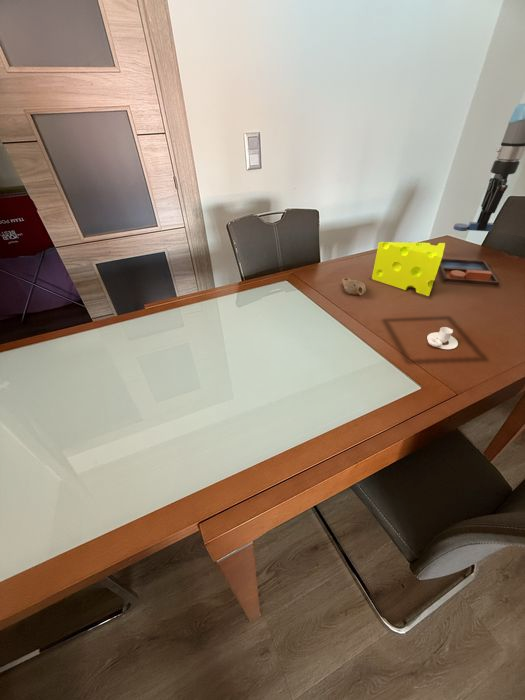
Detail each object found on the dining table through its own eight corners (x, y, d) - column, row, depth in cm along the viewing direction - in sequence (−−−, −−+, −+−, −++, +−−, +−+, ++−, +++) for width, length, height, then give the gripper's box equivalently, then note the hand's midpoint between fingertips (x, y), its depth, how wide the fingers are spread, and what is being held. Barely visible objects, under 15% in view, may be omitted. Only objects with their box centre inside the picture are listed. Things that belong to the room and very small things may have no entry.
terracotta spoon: (486, 275, 115) (489, 269, 113) (490, 282, 111) (493, 275, 109) (448, 273, 118) (450, 266, 116) (450, 279, 114) (453, 272, 113)
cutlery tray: (483, 265, 124) (485, 260, 122) (497, 287, 109) (499, 282, 108) (435, 262, 128) (437, 257, 127) (443, 283, 114) (445, 278, 112)
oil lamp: (336, 285, 116) (337, 273, 113) (354, 282, 117) (356, 270, 114) (352, 302, 106) (354, 289, 103) (371, 299, 107) (374, 286, 104)
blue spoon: (488, 228, 122) (491, 221, 120) (491, 232, 118) (495, 225, 116) (452, 226, 125) (454, 220, 123) (454, 230, 121) (456, 223, 119)
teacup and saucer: (430, 351, 84) (435, 339, 81) (419, 334, 90) (423, 323, 87) (462, 350, 84) (468, 338, 81) (449, 333, 90) (454, 321, 87)
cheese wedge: (405, 303, 104) (417, 262, 94) (371, 279, 119) (378, 241, 109) (451, 292, 108) (467, 252, 99) (412, 270, 123) (423, 233, 113)
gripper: (489, 156, 112) (465, 222, 127) (501, 163, 101) (473, 234, 116) (513, 156, 110) (485, 223, 125) (527, 163, 99) (495, 236, 114)
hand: (479, 229), depth 120 cm, fingers closed on blue spoon, 2 cm apart
